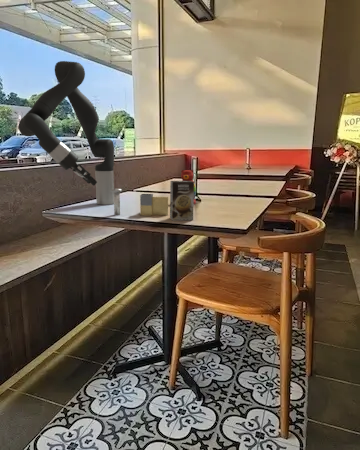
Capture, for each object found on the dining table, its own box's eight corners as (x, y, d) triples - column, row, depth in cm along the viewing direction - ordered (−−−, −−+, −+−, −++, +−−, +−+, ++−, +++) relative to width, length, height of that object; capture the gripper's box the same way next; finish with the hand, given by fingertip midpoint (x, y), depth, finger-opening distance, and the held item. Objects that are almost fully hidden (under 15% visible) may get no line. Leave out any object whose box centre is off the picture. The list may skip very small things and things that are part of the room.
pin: (113, 213, 166) (112, 188, 163) (123, 214, 165) (122, 188, 163) (111, 215, 161) (110, 189, 159) (121, 215, 161) (120, 189, 158)
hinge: (144, 210, 174) (144, 191, 172) (169, 211, 173) (169, 192, 172) (140, 215, 162) (140, 195, 160) (167, 215, 162) (167, 195, 160)
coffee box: (172, 221, 151) (172, 181, 148) (169, 218, 157) (169, 180, 154) (193, 220, 153) (194, 181, 149) (190, 217, 159) (190, 180, 156)
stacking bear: (174, 203, 197) (174, 170, 193) (180, 200, 206) (180, 169, 202) (194, 204, 194) (194, 170, 190) (198, 201, 203) (199, 169, 199)
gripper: (73, 149, 142) (103, 177, 150) (66, 148, 155) (94, 175, 162) (60, 163, 141) (91, 191, 149) (54, 161, 154) (83, 187, 161)
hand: (92, 183), depth 156 cm, fingers open, 8 cm apart
